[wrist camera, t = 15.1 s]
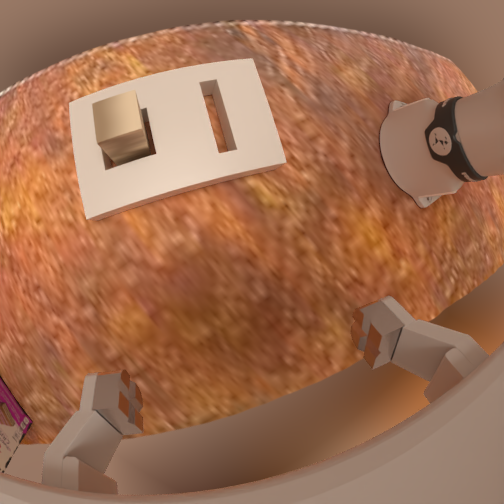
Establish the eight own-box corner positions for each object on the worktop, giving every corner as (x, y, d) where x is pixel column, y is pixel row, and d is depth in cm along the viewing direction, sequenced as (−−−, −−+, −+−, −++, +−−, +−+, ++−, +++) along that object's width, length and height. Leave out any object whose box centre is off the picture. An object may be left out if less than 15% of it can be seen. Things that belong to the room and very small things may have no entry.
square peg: (145, 128, 29) (135, 89, 19) (152, 158, 29) (142, 128, 20) (114, 138, 28) (92, 103, 18) (120, 168, 28) (96, 143, 19)
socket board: (244, 74, 31) (252, 58, 27) (274, 169, 33) (286, 162, 29) (79, 115, 26) (69, 102, 22) (97, 220, 28) (86, 219, 24)
